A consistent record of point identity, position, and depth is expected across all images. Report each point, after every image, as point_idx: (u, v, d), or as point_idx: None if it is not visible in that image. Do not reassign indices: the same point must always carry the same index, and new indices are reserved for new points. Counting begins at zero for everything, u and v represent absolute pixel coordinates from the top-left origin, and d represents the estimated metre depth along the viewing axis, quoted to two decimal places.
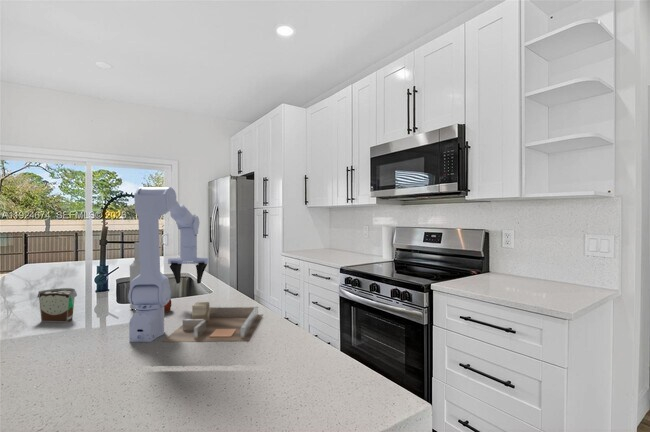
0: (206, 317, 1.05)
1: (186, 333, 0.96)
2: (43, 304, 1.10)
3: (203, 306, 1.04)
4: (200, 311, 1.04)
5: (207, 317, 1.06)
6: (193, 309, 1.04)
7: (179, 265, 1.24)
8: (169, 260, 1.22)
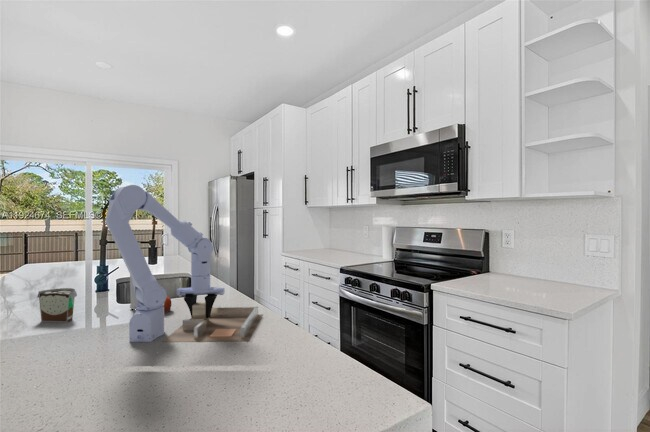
0: None
1: (186, 333, 0.96)
2: (43, 304, 1.10)
3: (203, 306, 1.04)
4: (200, 311, 1.04)
5: None
6: (193, 309, 1.04)
7: (194, 296, 1.06)
8: (178, 291, 1.04)
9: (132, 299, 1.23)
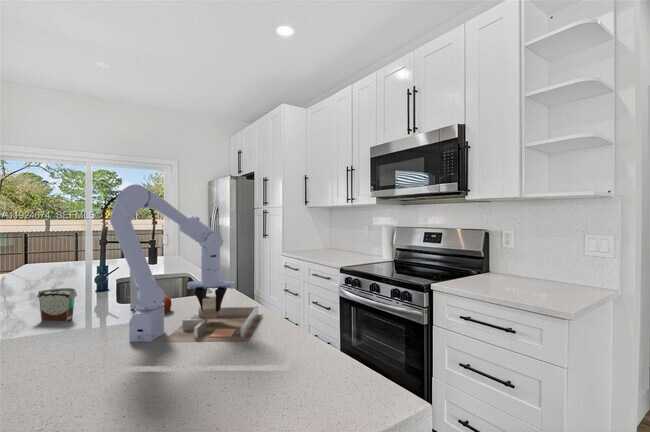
0: None
1: (186, 333, 0.96)
2: (43, 304, 1.10)
3: (213, 299, 1.04)
4: (210, 304, 1.04)
5: None
6: (203, 302, 1.04)
7: (204, 290, 1.06)
8: (188, 284, 1.04)
9: (132, 299, 1.23)
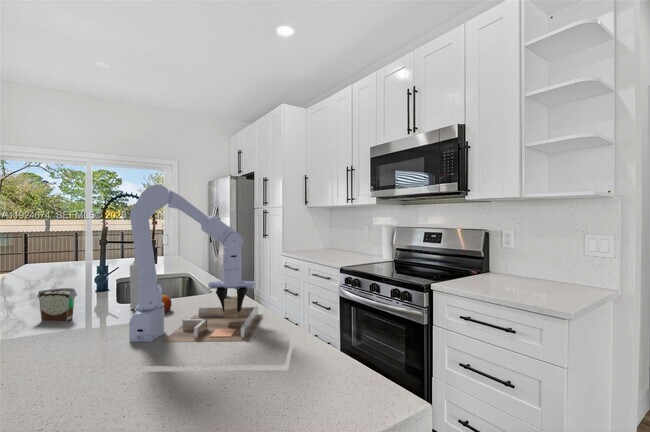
0: (237, 311, 1.05)
1: (186, 333, 0.96)
2: (43, 304, 1.10)
3: (235, 300, 1.04)
4: (232, 305, 1.04)
5: None
6: (225, 303, 1.04)
7: (225, 290, 1.06)
8: (210, 284, 1.04)
9: (132, 299, 1.23)
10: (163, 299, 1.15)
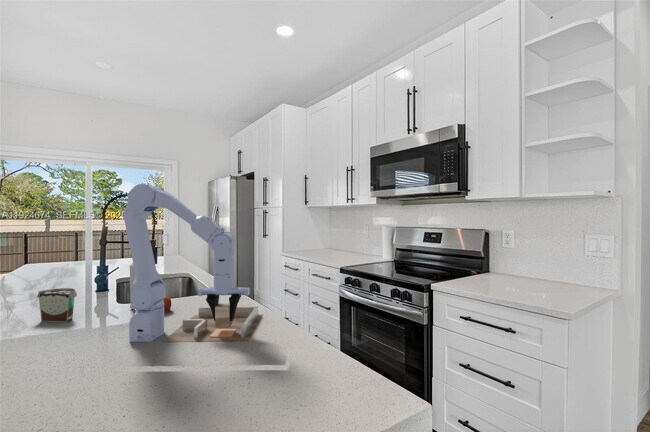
0: None
1: (186, 333, 0.96)
2: (43, 304, 1.10)
3: (227, 308, 0.95)
4: (224, 313, 0.95)
5: None
6: (216, 311, 0.95)
7: (217, 297, 0.97)
8: (200, 291, 0.95)
9: None
10: (163, 299, 1.15)
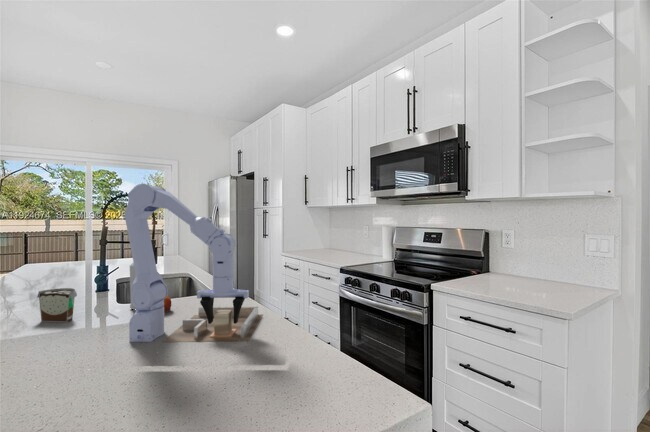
0: (229, 327, 0.95)
1: (186, 333, 0.96)
2: (43, 304, 1.10)
3: (226, 315, 0.94)
4: (223, 320, 0.94)
5: (230, 326, 0.96)
6: (215, 318, 0.94)
7: (211, 299, 0.96)
8: (198, 293, 0.95)
9: None
10: None
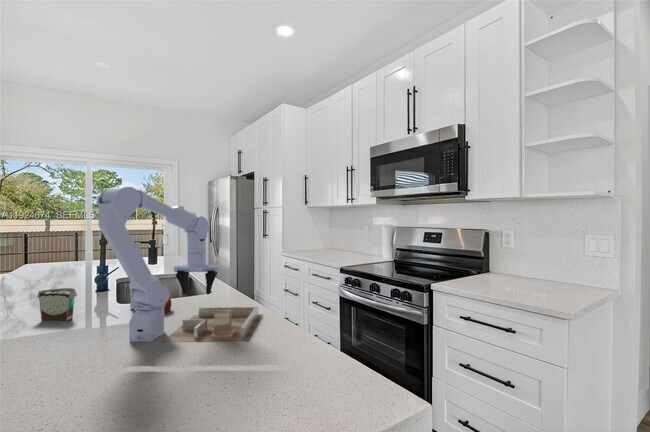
0: (229, 327, 0.95)
1: (186, 333, 0.96)
2: (43, 304, 1.10)
3: (226, 315, 0.94)
4: (223, 320, 0.94)
5: (230, 326, 0.96)
6: (215, 318, 0.94)
7: (186, 273, 1.10)
8: (175, 268, 1.08)
9: None
10: None
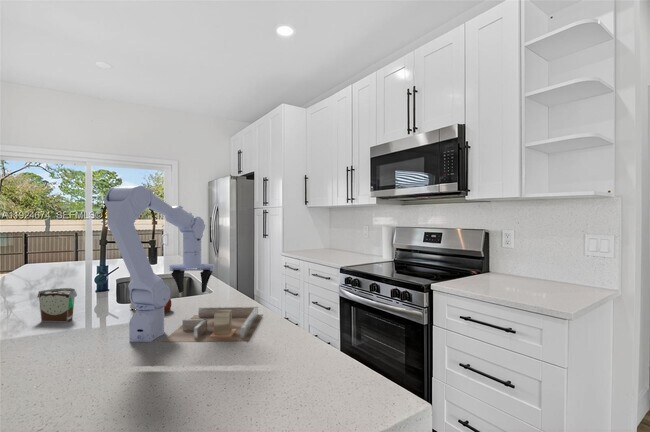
0: (229, 327, 0.95)
1: (186, 333, 0.96)
2: (43, 304, 1.10)
3: (226, 315, 0.94)
4: (223, 320, 0.94)
5: (230, 326, 0.96)
6: (215, 318, 0.94)
7: (182, 272, 1.12)
8: (171, 267, 1.10)
9: None
10: None
